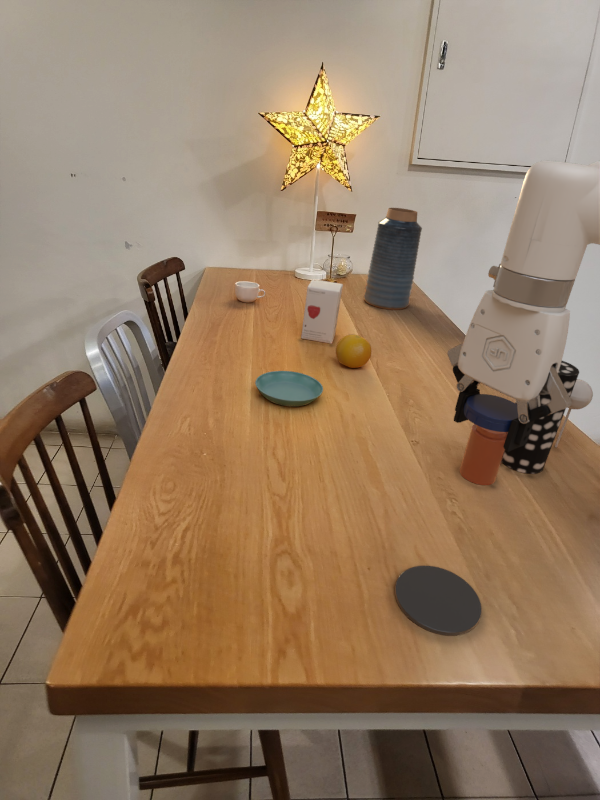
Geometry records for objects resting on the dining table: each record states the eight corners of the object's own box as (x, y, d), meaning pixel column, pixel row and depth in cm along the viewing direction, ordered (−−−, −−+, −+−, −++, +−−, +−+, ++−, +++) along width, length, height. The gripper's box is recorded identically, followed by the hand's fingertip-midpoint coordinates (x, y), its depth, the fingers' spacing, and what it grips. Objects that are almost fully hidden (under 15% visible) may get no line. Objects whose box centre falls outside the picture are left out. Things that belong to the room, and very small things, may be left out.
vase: (402, 298, 199) (420, 209, 185) (413, 312, 185) (434, 216, 170) (359, 294, 197) (374, 204, 183) (367, 308, 183) (383, 211, 169)
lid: (467, 427, 62) (471, 414, 61) (460, 401, 68) (463, 390, 67) (525, 436, 61) (529, 424, 60) (513, 410, 67) (517, 398, 66)
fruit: (353, 357, 142) (358, 328, 138) (374, 369, 136) (380, 339, 133) (327, 362, 137) (331, 332, 133) (348, 374, 131) (353, 344, 128)
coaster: (472, 576, 74) (473, 572, 74) (488, 643, 64) (489, 639, 64) (393, 562, 75) (394, 559, 75) (396, 626, 65) (397, 623, 65)
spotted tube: (498, 445, 108) (528, 352, 99) (542, 456, 106) (576, 362, 97) (497, 466, 101) (529, 368, 92) (544, 478, 98) (582, 379, 90)
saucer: (294, 419, 108) (295, 407, 107) (240, 393, 116) (240, 382, 115) (334, 397, 119) (336, 386, 118) (283, 375, 127) (284, 365, 126)
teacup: (231, 302, 173) (232, 285, 171) (237, 295, 180) (238, 279, 177) (262, 306, 172) (263, 290, 170) (266, 300, 179) (268, 284, 177)
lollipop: (541, 436, 113) (564, 371, 107) (571, 444, 111) (597, 379, 104) (539, 449, 108) (563, 381, 101) (570, 458, 106) (597, 390, 99)
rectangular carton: (300, 339, 150) (306, 286, 143) (305, 328, 158) (311, 278, 151) (332, 344, 149) (339, 291, 142) (336, 333, 157) (343, 283, 150)
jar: (489, 466, 100) (504, 418, 96) (500, 486, 95) (517, 437, 90) (455, 463, 100) (469, 415, 95) (464, 483, 94) (479, 433, 90)
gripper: (445, 269, 61) (413, 408, 69) (593, 318, 49) (533, 479, 57) (484, 266, 65) (450, 397, 73) (630, 310, 54) (569, 460, 62)
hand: (487, 432), depth 65 cm, fingers closed on lid, 6 cm apart
